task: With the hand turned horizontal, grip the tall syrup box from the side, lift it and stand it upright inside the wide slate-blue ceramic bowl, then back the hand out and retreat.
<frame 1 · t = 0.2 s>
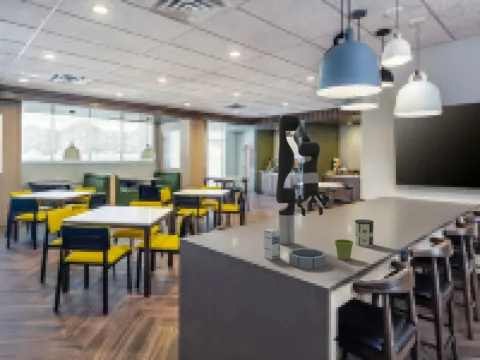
hand: (312, 215, 164), 22 cm above the table, tool pointing down, fingers open, 8 cm apart
syrup box: (271, 258, 170), on the table
coffee can: (363, 245, 196), on the table
plant pot: (343, 258, 168), on the table
bowl: (307, 263, 160), on the table
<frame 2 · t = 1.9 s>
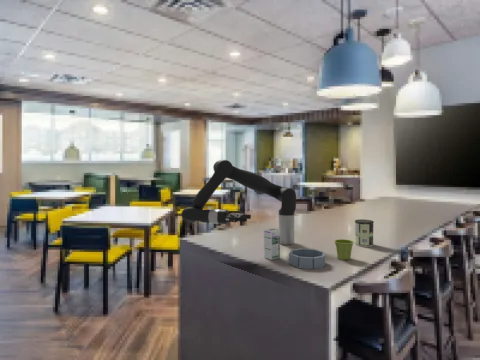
hand: (248, 218, 172), 20 cm above the table, tool horizontal, fingers open, 8 cm apart
nothing on the table moved.
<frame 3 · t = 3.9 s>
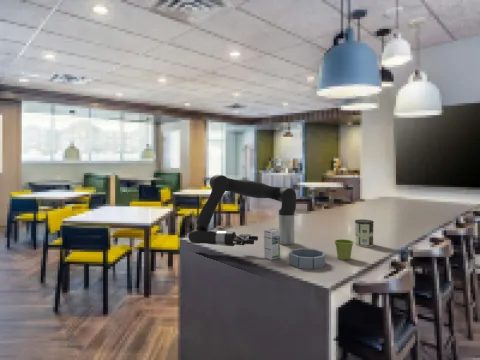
hand: (256, 240, 172), 8 cm above the table, tool horizontal, fingers open, 8 cm apart
nothing on the table moved.
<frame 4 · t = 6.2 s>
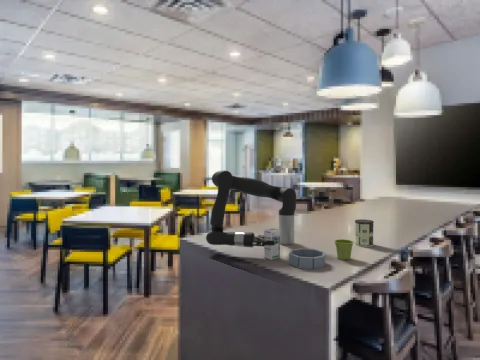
hand: (275, 241, 169), 9 cm above the table, tool horizontal, fingers closed on syrup box, 7 cm apart
syrup box: (271, 258, 170), on the table, touching gripper
everything else where it was.
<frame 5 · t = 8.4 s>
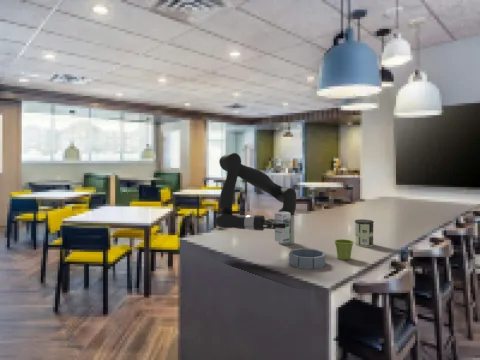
hand: (286, 224, 165), 18 cm above the table, tool horizontal, fingers closed on syrup box, 7 cm apart
syrup box: (282, 241, 166), point 9 cm above the table, touching gripper
everything else where it was.
when the fingers open (11 cm above the table, at t = 11.1 s): syrup box drops 1 cm, resting on bowl.
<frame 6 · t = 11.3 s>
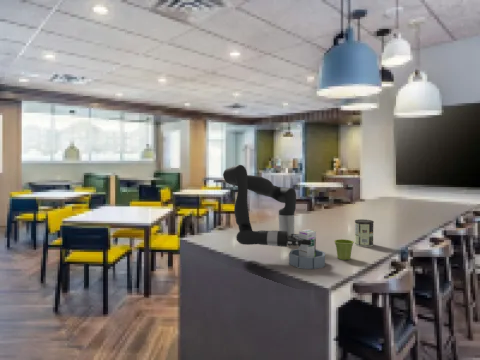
hand: (311, 240, 159), 11 cm above the table, tool horizontal, fingers open, 8 cm apart
syrup box: (306, 261, 160), point 1 cm above the table, touching bowl
everything else where it was.
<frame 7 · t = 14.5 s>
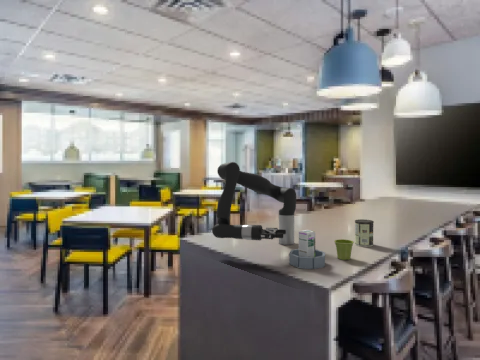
hand: (284, 233, 163), 14 cm above the table, tool horizontal, fingers open, 8 cm apart
nothing on the table moved.
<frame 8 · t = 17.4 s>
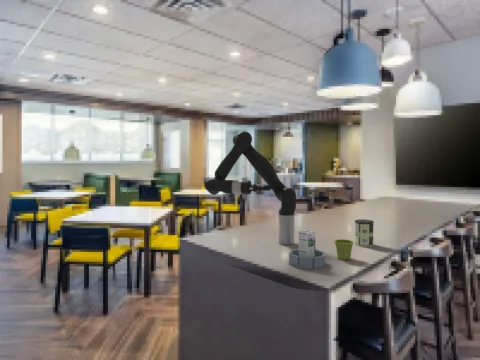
hand: (271, 187, 174), 35 cm above the table, tool horizontal, fingers open, 8 cm apart
nothing on the table moved.
at the end: syrup box inside the target area on the bowl (0.2 cm from its centre), point 1.0 cm above the bowl's base; syrup box tilted 0°; the gripper is holding nothing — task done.
